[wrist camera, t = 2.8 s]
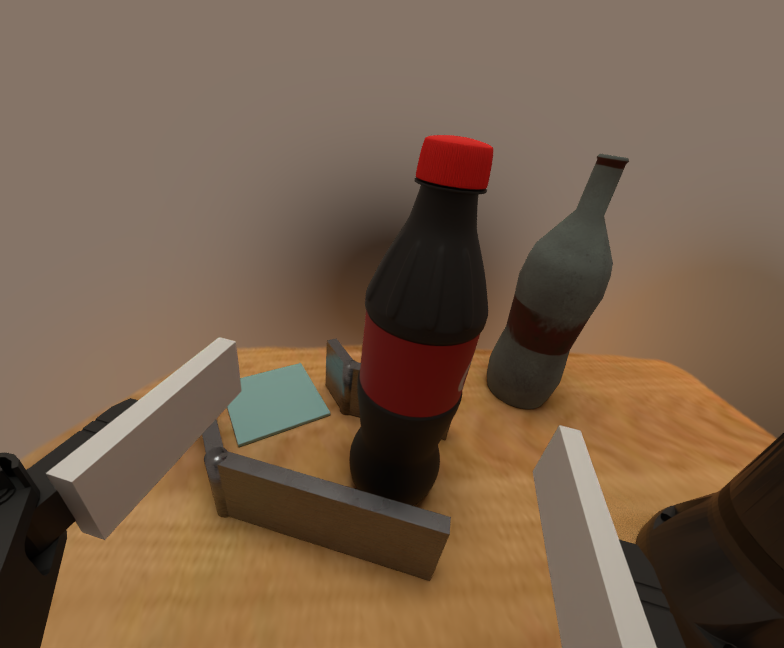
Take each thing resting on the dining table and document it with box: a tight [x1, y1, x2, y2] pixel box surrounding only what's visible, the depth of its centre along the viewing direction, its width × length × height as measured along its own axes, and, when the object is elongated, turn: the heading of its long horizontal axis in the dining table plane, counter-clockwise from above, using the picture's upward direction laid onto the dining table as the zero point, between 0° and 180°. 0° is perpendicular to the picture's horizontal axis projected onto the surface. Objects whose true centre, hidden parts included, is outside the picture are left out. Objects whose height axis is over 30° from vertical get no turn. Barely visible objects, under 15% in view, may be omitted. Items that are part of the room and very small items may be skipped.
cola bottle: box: [350, 135, 493, 506], centre depth 26 cm, size 8×8×30 cm
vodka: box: [487, 154, 629, 409], centre depth 40 cm, size 9×9×30 cm
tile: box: [227, 363, 330, 447], centre depth 40 cm, size 10×10×1 cm
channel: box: [202, 339, 452, 581], centre depth 34 cm, size 26×19×7 cm
